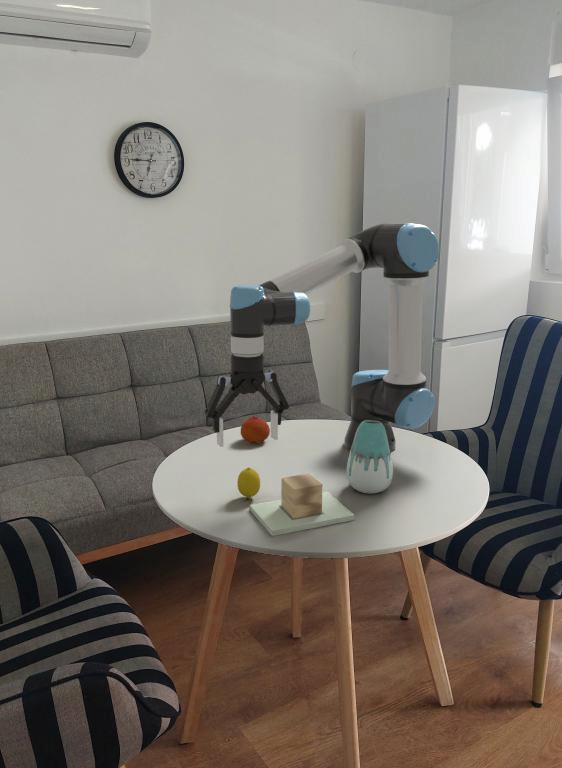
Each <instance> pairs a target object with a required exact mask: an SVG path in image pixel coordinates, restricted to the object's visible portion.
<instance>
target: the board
mask: <svg viewBox="0 0 562 768" xmlns="http://www.w3.org/2000/svg"><path fill="white" fill-rule="evenodd" d="M249 511H250V512H251V513H252V514H253V515H254V517H255V518H256V519H257V521H259V522H260V524H261V525H262V526H263V527H264V528H265V530H266V531H267V532H268V533H269V534H270V535H271V536H272V537H275V536H280V535H285V534H289V533H290V534H291V533H294V532H295V533H296V532H300V531H305V530H310V529H314V528H315V529H316V528H320V527H325V526H330V525H335V524H339V523H344V522H350V521H354V520H355V514H354V513H353V512H352V511H351V510H349V509H348V508H347V507H346V506H344V505H343V503H341V502H340V501H339V500H337V499H336V498H335V497H334V496H332V494H330V493H329V492H328V491H322V513H320V514H315V515H310V516H304V517H299V518H293V517H292V516H291V515H290V514H289V513H288V512H287V511H286V510H285V509H284V508H283V507H282V506H281V499H277V500H272V501H271V500H270V501H265V502H260V503H252V504H249Z"/></svg>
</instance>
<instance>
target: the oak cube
mask: <svg viewBox="0 0 562 768" xmlns="http://www.w3.org/2000/svg"><path fill="white" fill-rule="evenodd" d="M280 484H281V486H280V487H281V492H280V493H281V496H280V497H281V499H280V500H281V506H282V507H283V508H284V509H285V510H286V511H287V512H288V513H289V514H290V515H291V516H292V517H293V518H299V517H304V516H310V515H315V514H320V513H322V492H323V483H322V482H321V481H319V480H318V479H317V478H315V477H314V476H313V475H312V474H310V473H304V474H303V473H302V474H297V475H292V476H285V477H281V483H280Z"/></svg>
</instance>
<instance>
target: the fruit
mask: <svg viewBox="0 0 562 768" xmlns="http://www.w3.org/2000/svg"><path fill="white" fill-rule="evenodd" d="M240 435H241V438H242V439H243V440H244V441H246V443H249V444H258V443H262V442H264V441H266V440H267V439H268V438H269V436H270V435H271V427H270V426H269V424H268V423H267V422H266V420H264V419H262V418H260V417H258V416H256V415H253V416H250V417H249V418H247V419H245V421H244V422H243V423H242V424H241V427H240Z"/></svg>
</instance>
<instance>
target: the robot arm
mask: <svg viewBox="0 0 562 768" xmlns="http://www.w3.org/2000/svg"><path fill="white" fill-rule="evenodd" d="M439 255H440V245H439V241H438V238H437V236H436V234H435V232H433V231H432V229H431V228H429V227H428V226H426V225H423V224H418V223H379V224H376V225H373V226H371V227H368V228H365V229H364V230H362V231H359V232H357V233H355V234H353V235H351V236H349V237H347V238H345V239H343V240H342V241H341V243H340V245H339V246H337V247H335V248H334V249H331V250H329V251H327V252H325V253H323V254H321V255H319V256H317V257H315V258H313V259H311V260H309V261H307V262H304V263H303V264H301V265H299V266H296V267H295V268H293V269H291V270H289V271H286V272H284V273H282V274H280V275H277V276H276V277H274V278H272V279H270V280H268V281H265V282H263V283H261V284H259V285H255V284H247V285H246V284H243V285H242V284H241V285H235V286H233V287H231V291H230V296H229V298H230V301H229V309H230V316H229V317H230V352H231V353H232V354H231V355H230V375H229V376H224V375H221V374H220V375H217V379H216V385H215V388H214V390H213V392H212V395H211V397H210V399H209V401H208V403H207V405H206V408H205V410H204V412H203V413H204V415H205V416H206V417H207V418H208V419H212V431H213V432H214V433H216V444H217V445H218V446H219V447H220V448H222V447H224V419H223V418H222V416H223V415H224V413H225V412H226V410H228V408H229V407H230V405H232V403H233V402H234V400H235V399H236V398H238V397H239V395H240V394H241V395H246V394H256V393H257V392H258V393H259V394H260V395H261V397H263V398H264V401H265V402H267V403H268V404H269V406H270V407H272V409H273V410H270V437H271V439H273V440H274V441H275V440H276V441H277V440H278V438H279V436H278V435H279V434H278V433H279V430H278V429H279V426H281V425H282V414H283V413H284V410H285V411H286V410H288V409H290V405H289V403H288V401H287V399H286V397H285V395H284V393H283V391H282V388H281V386H280V385H279V383H278V377H277V373H275V372H274V371H272V370H269V371H268V372H266V373H265V372H264V368H265V367H264V361H265V359H264V357H265V356H264V355H263V353H264V350H265V348H264V347H265V346H264V344H265V341H264V337H265V336H264V331H265V327H275V326H288V325H289V326H290V325H292V326H295V325H298V324H302V323H303V324H304V323H305V322H306V321H308V320H309V317H310V314H311V302H310V299H309V297H308V296H307V295H309V294H311V293H313V292H315V291H317V290H318V289H321V288H322V287H324V286H327V285H328V284H330V283H332V282H335V281H336V280H338V279H341V278H342V277H344V276H347V275H349V274H350V273H356V274H358V273H361V272H363V271H365V270H367V269H376V268H377V269H379V268H381V269H383V279H384V280H385V281H386V282H387V283H388V286H389V287H388V369H368V370H359V371H357V372H355V373H354V374H353V375H352V380H351V384H350V386H351V395H350V396H351V397H350V401H351V403H350V405H351V406H350V412H351V413H350V423H349V425H348V427H347V430H346V433H345V436H344V440H343V441H344V443H343V444H344V445H343V446H344V447H345V448H346V449H347V450H349V451H350V450H351V447H352V444H353V441H354V438H355V434H356V431H357V429H358V427H359V425H360V424H361V422H362V421H364V420H373V421H379V422H381V423H382V424H383V425H384V427H385V430H386V434H387V440H388V445H389V449H390V453H392V452H393V451H394V450H395V449H396V442H397V441H396V437H395V434H394V430H393V427H392V424H394V425H397V426H398V427H400V428H406V429H410V430H411V429H417V428H420V427H421V426H423V425H424V424H425V423H427V421H428V420H429V419H430V418H431V416H432V414H433V412H434V410H435V409H434V408H435V405H436V404H435V403H436V402H435V396H434V394H433V393H432V391H431V390H430V389H428V388H427V376H425V375H424V373H422V369H421V368H422V365H421V363H422V328H423V326H422V322H423V321H422V320H423V319H422V318H423V286H424V285H423V284H424V283H425V282H426V280H427V279H429V276H430V274H429V273H430V270H432V269H433V268H434V267H435V265H436V262H437V261H438V259H439ZM265 380H266V381H267V382H268V383H269V384H270V387H271V388H272V391H273V393H274V395H275V397H276V400H277V401H278V402H276V400H275V399H274V398H273V397H272V396H271V395H270V394H269V393H268V392H267V390H266V389H265V387H264V386H263V385H262V384H264V382H265ZM229 383H230V384H231V386H230V388H229V390H228V392H227V393H226V394H225V396H224V398H222V396H223V393H224V392H225V388H226V387H227V386H228V385H229ZM221 398H222V400H221Z"/></svg>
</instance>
